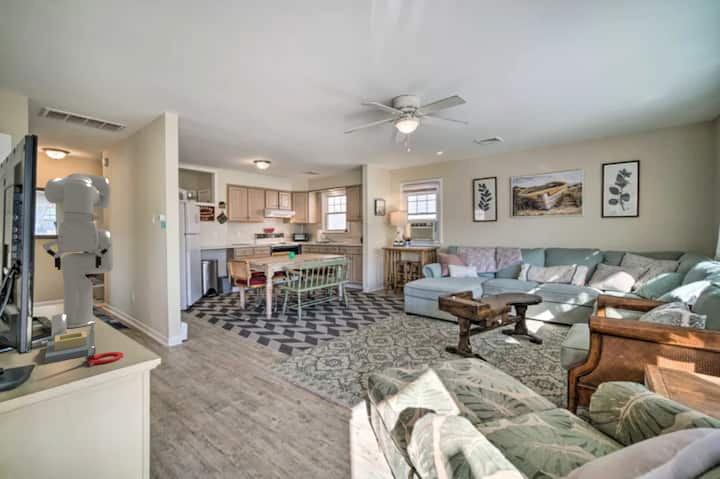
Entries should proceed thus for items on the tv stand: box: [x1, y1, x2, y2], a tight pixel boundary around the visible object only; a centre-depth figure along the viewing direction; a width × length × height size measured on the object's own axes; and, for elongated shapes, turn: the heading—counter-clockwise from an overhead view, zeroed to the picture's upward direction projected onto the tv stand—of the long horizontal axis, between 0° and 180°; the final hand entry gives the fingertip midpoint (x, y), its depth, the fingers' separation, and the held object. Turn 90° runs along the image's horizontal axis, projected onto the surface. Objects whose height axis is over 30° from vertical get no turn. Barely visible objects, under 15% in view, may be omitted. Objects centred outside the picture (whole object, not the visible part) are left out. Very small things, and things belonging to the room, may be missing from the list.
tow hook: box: [85, 322, 124, 367], centre depth 101 cm, size 8×13×9 cm
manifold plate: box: [44, 330, 96, 364], centre depth 108 cm, size 18×12×5 cm, turn 44°
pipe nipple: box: [51, 313, 68, 341], centre depth 116 cm, size 4×4×10 cm
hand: (78, 268), depth 106 cm, fingers open, 9 cm apart
